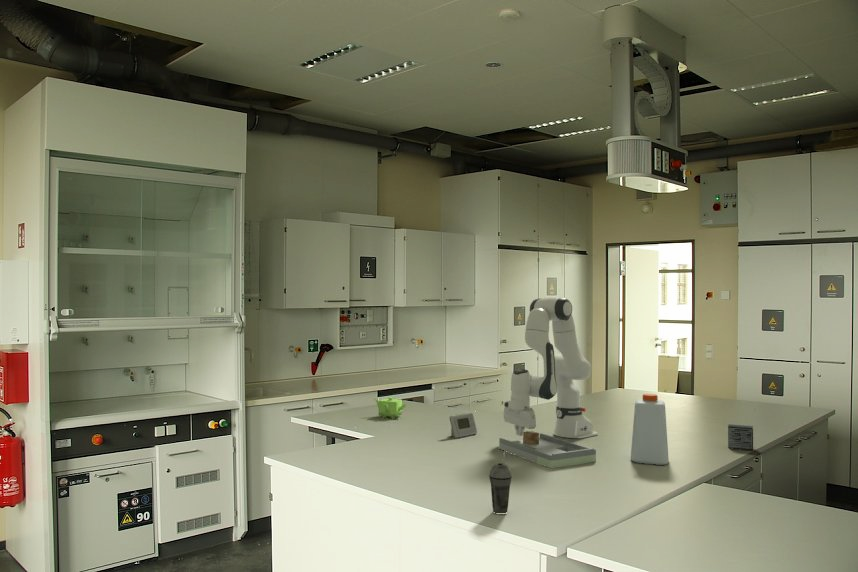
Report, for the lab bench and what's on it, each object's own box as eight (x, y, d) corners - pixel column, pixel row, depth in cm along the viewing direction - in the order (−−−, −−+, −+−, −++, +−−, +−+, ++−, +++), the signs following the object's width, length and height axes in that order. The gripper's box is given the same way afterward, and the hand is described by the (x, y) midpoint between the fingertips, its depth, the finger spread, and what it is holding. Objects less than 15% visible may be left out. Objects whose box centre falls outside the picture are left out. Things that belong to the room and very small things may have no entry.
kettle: (372, 416, 375) (373, 396, 376) (395, 414, 382) (395, 394, 383) (384, 420, 362) (384, 400, 363) (407, 418, 369) (407, 398, 370)
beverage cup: (486, 509, 215) (487, 447, 215) (508, 508, 215) (509, 447, 215) (490, 516, 207) (491, 452, 208) (513, 516, 208) (514, 452, 208)
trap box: (541, 444, 309) (541, 432, 309) (595, 461, 278) (595, 448, 278) (499, 449, 298) (499, 437, 298) (551, 468, 266) (551, 454, 266)
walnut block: (531, 441, 300) (532, 430, 300) (538, 444, 296) (538, 432, 296) (523, 442, 298) (523, 431, 298) (529, 445, 294) (530, 433, 294)
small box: (753, 448, 307) (753, 425, 307) (753, 451, 301) (753, 428, 301) (728, 445, 311) (728, 423, 311) (727, 448, 305) (728, 425, 305)
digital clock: (454, 439, 318) (454, 417, 318) (444, 435, 326) (444, 414, 326) (481, 435, 327) (481, 414, 327) (470, 432, 334) (470, 411, 335)
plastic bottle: (668, 458, 286) (668, 393, 286) (668, 466, 271) (669, 398, 272) (631, 455, 290) (632, 391, 291) (630, 463, 276) (630, 396, 277)
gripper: (539, 408, 297) (539, 439, 296) (512, 401, 314) (511, 430, 314) (528, 409, 294) (527, 440, 293) (501, 402, 311) (501, 431, 311)
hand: (519, 435), depth 304 cm, fingers closed
